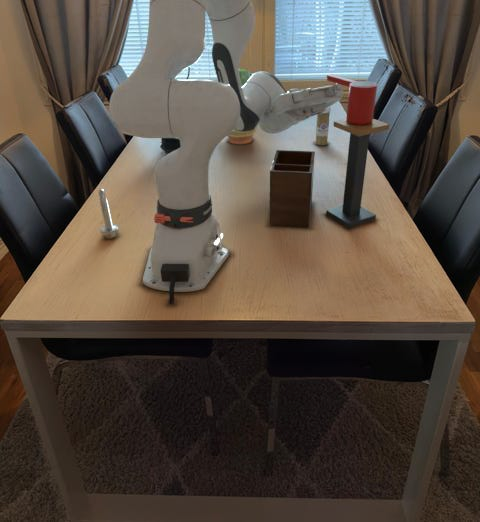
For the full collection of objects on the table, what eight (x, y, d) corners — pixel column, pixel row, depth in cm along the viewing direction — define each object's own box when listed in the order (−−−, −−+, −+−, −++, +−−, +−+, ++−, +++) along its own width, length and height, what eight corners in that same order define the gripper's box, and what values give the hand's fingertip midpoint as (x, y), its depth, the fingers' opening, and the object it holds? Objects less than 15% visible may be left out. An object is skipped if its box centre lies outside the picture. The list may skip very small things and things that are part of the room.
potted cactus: (267, 143, 172) (268, 71, 159) (228, 149, 168) (225, 76, 154) (251, 131, 185) (250, 63, 171) (214, 136, 180) (209, 67, 166)
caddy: (308, 228, 119) (312, 173, 111) (269, 225, 121) (269, 171, 113) (311, 203, 131) (314, 151, 123) (275, 201, 133) (276, 150, 124)
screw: (97, 237, 119) (112, 229, 122) (109, 243, 116) (124, 235, 119) (86, 189, 112) (103, 183, 115) (98, 195, 109) (115, 187, 112)
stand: (375, 219, 122) (389, 124, 108) (348, 229, 118) (359, 131, 105) (352, 206, 129) (362, 114, 115) (325, 215, 125) (333, 121, 111)
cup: (377, 122, 109) (383, 84, 105) (358, 127, 107) (362, 88, 102) (336, 108, 120) (339, 72, 116) (317, 112, 118) (319, 76, 113)
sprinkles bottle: (318, 146, 168) (320, 108, 161) (312, 142, 172) (315, 104, 164) (329, 144, 169) (332, 106, 162) (324, 140, 173) (327, 103, 165)
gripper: (260, 100, 125) (286, 81, 113) (321, 89, 134) (352, 70, 121) (266, 124, 126) (293, 108, 114) (327, 111, 134) (358, 95, 122)
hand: (324, 88), depth 117 cm, fingers open, 8 cm apart
